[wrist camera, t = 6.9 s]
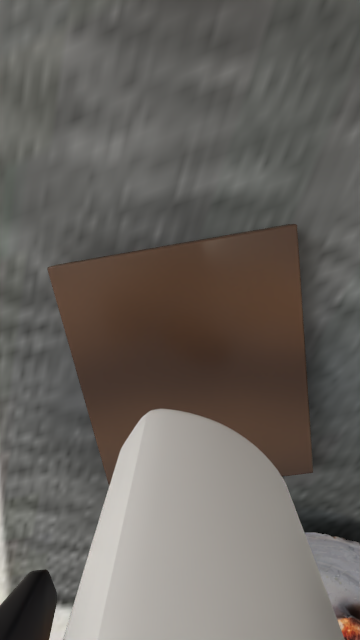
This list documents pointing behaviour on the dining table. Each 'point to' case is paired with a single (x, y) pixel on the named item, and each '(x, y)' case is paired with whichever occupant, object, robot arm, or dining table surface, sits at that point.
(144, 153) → the dining table surface
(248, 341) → the walnut board
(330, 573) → the food plate
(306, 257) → the dining table surface
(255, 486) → the eye dropper bottle
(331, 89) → the dining table surface
